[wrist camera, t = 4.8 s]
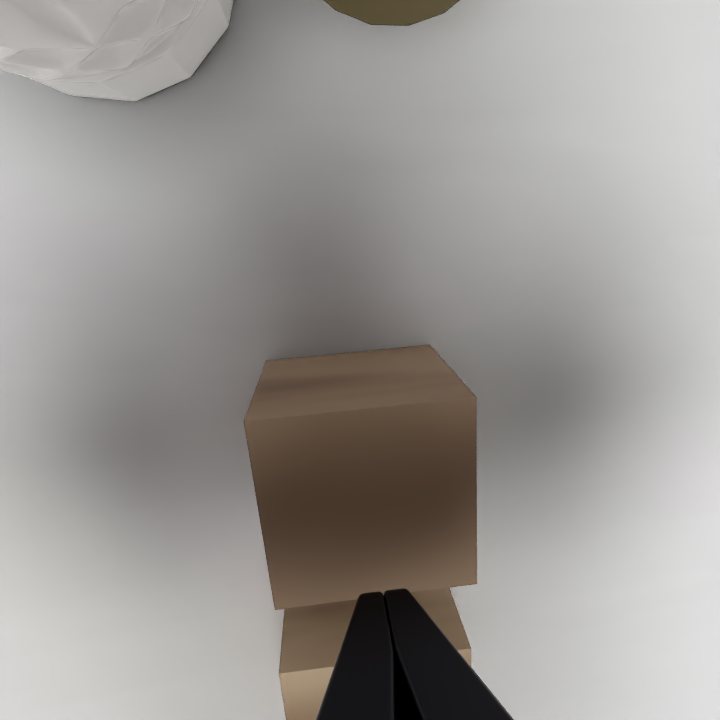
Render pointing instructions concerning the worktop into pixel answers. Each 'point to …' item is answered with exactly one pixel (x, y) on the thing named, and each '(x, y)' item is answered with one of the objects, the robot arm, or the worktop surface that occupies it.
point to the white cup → (109, 43)
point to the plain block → (364, 474)
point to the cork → (392, 10)
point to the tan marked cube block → (324, 639)
